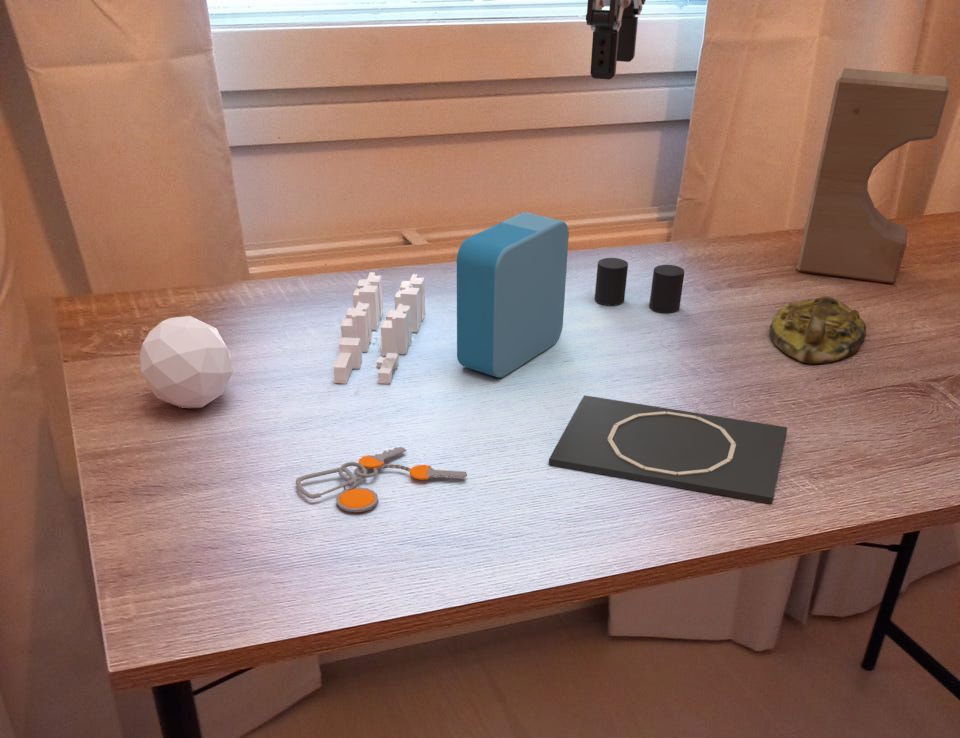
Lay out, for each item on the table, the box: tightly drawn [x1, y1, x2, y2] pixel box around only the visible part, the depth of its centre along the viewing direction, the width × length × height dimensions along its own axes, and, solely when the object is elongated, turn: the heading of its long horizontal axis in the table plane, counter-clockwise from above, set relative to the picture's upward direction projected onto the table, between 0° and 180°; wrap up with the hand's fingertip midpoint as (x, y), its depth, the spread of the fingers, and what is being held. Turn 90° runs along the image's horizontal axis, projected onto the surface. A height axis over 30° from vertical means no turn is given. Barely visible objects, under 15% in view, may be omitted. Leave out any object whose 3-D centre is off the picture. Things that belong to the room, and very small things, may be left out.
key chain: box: [295, 446, 468, 513], centre depth 81 cm, size 13×7×1 cm, turn 119°
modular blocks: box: [332, 271, 426, 395], centre depth 99 cm, size 20×7×4 cm, turn 176°
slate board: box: [548, 394, 788, 505], centre depth 86 cm, size 18×12×1 cm, turn 72°
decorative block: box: [796, 67, 950, 285], centre depth 112 cm, size 11×6×20 cm, turn 69°
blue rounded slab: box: [456, 211, 570, 379], centre depth 96 cm, size 12×4×12 cm, turn 145°
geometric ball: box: [138, 315, 234, 409], centre depth 89 cm, size 8×8×8 cm
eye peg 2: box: [648, 264, 686, 314], centre depth 108 cm, size 3×3×4 cm
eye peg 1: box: [594, 257, 629, 307], centre depth 109 cm, size 3×3×4 cm
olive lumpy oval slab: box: [769, 295, 867, 365], centre depth 103 cm, size 9×5×15 cm
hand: (612, 69), depth 96 cm, fingers open, 8 cm apart
